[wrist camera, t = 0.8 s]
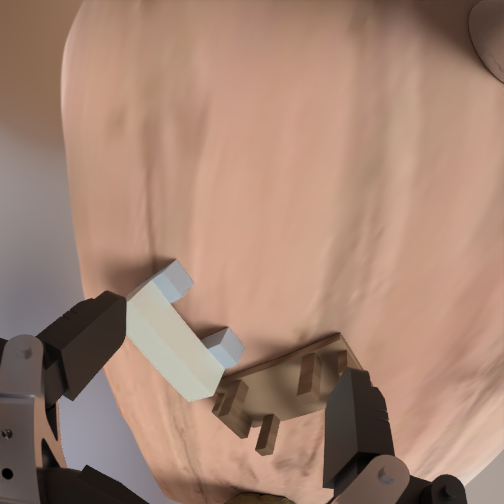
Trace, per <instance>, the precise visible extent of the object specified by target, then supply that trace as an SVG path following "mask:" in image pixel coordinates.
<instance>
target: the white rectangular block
mask: <svg viewBox="0 0 504 504" xmlns="http://www.w3.org/2000/svg"><path fill="white" fill-rule="evenodd" d="M126 301H127V313H126V335H127V336H128V337H129V338H130V339H131V341H132V342H133V343H134V344H135V345H136V347H137V348H138V349H139V350H140V351H141V352H142V353H143V355H144V356H145V357H146V358H147V359H148V360H149V361H150V362H151V364H152V365H153V366H154V367H155V368H156V369H157V370H158V371H159V372H160V373H161V374H162V375H163V377H164V378H165V379H166V380H167V381H168V382H169V383H170V384H171V385H172V386H173V387H174V388H175V389H176V390H177V391H178V392H179V393H180V394H181V395H182V396H183V397H184V398H185V399H186V400H187V401H188V402H191V401H195V400H199V399H203V398H207V397H210V396H213V395H214V393H215V391H216V388H217V386H218V384H219V382H220V379H221V377H222V375H223V373H224V370H225V369H224V367H223V366H222V365H221V364H220V363H219V362H218V361H217V359H216V358H215V357H214V356H213V355H212V354H211V353H210V351H209V350H208V349H207V348H206V347H205V346H204V344H203V343H202V342H201V341H200V340H199V339H198V337H197V336H196V335H195V334H194V333H193V331H192V330H191V329H190V328H189V327H188V325H187V324H186V323H185V322H184V320H183V319H182V318H181V317H180V316H179V314H178V313H177V312H176V311H175V309H174V308H173V307H172V305H171V304H170V303H169V302H168V300H167V299H166V298H165V297H164V295H163V294H162V293H161V291H160V290H159V289H158V287H157V286H156V285H155V283H154V282H153V281H152V280H150V281H149V282H147V283H146V284H144V285H143V286H142V287H140V288H139V289H137V290H136V291H134V292H133V293H131V294H130V295H129V296H128V297H127V298H126Z"/></svg>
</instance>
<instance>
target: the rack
mask: <svg viewBox="0 0 504 504" xmlns="http://www.w3.org/2000/svg"><path fill="white" fill-rule="evenodd" d="M347 367H351V368H356V369H361V370H363V368H362V366H361V365H360V363H359V362H358V360H357V358H356V357H355V355H354V354H353V352H352V350H351V349H350V347H349V346H348V344H347V342H346V341H345V339H344V338H343V336H342V335H341V333H338V334H335V335H333V336H331V337H329V338H326V339H324V340H322V341H319V342H317V343H315V344H312V345H310V346H307V347H305V348H303V349H300V350H298V351H295V352H293V353H290V354H288V355H285V356H282V357H280V358H277V359H275V360H272V361H269V362H267V363H264V364H261V365H258V366H256V367H253V368H250V369H247V370H244V371H241V372H239V373H236V374H233V375H230V376H227V377H224V378H221V379H220V382H219V384H218V386H217V388H216V392H217V393H218V394H219V396H218V398H217V401H216V403H215V405H214V408H213V410H212V413H213V414H214V415H215V416H217V417H218V418H219V419H220V420H221V421H222V422H223V423H224V424H225V425H226V426H227V427H228V428H230V429H231V430H232V431H233V432H234V433H235V434H236V435H237V436H239V437H240V438H241V439H243V438H248V434H249V431H250V428H251V426H252V427H253V428H254V427H259V426H261V430H260V434H259V437H258V441H257V445H256V448H255V450H256V451H257V452H258V453H259V454H260V455H262V456H265V455H271V454H273V450H274V446H275V441H276V437H277V433H278V428H279V423H280V421H284V420H288V419H292V418H295V417H299V416H303V415H306V414H310V413H313V412H316V411H320V410H323V409H326V404H327V401H328V398H329V396H330V394H331V393H332V391H333V389H334V388H335V386H336V384H337V382H338V380H339V379H340V377H341V375H342V373H343V371H344V370H345V369H346V368H347ZM371 386H372V387H373V384H372V383H371Z"/></svg>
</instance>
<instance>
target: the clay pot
mask: <svg viewBox="0 0 504 504" xmlns="http://www.w3.org/2000/svg"><path fill="white" fill-rule="evenodd" d="M224 504H295V503H293V502H291V501H290V500H288V498H283V497H278V496H273V495H268V494H265V495H262V496H261V495H259V494H253V493H247V494H246V493H244V494H240V495H238V496H235V497H233V498H231V499H230V500H228V501H227V502H225V503H224Z"/></svg>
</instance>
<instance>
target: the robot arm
mask: <svg viewBox="0 0 504 504" xmlns="http://www.w3.org/2000/svg"><path fill="white" fill-rule="evenodd" d="M468 23H469V32H470V36H471V39H472V42H473V45H474V47H475V49H476V51H477V53H478V55H479V57H480V58H481V60H482V61H483V62H484V64H485V65H486V67H487V68H488V69H489V70H490V71H491V72H492V74H494V75H495V76H496V77H497V78H498V79H499V80H500V81H502V82H503V83H504V0H481V1H480V2H479V3H478V4H476V5H475V6H474V7H473V8H472V10H471V12H470V14H469V19H468ZM126 313H127V301H126V298H125V297H123V296H120V295H118V294H115V293H113V292H110V291H104V292H103V293H102V294H100V295H99V296H98V297H97V298H95V299H92V298H90V299H87V300H84V301H81V302H79V303H78V304H76V305H75V306H74V307H72V308H71V309H70V311H67V312H66V313H65V314H63V316H62V317H59V318H58V319H57V320H56V321H54V322H53V323H52V324H51V325H49V326H48V327H47V328H46V329H44V330H43V331H42V332H41V333H39V334H38V335H37V336H36V337H34V336H32V335H18V336H15V337H13V338H11V339H10V340H9V341H8V340H5V339H2V338H0V504H149V503H147V502H146V501H145V500H143V499H142V498H140V497H139V496H138V495H136V494H135V493H133V492H132V491H131V490H129V489H128V488H127V487H126V486H124V485H123V484H122V483H120V482H118V481H116V480H114V479H112V478H110V477H108V476H107V475H105V474H102V473H101V472H99V471H97V470H95V469H94V468H92V467H90V466H88V465H86V466H85V467H84V469H83V470H82V471H79V470H75V469H70V468H67V465H66V461H65V457H64V454H63V450H62V446H61V434H60V421H59V403H58V399H59V398H60V397H61V396H62V395H64V396H65V397H67V398H68V399H70V400H72V401H74V399H75V398H76V397H77V396H78V394H79V393H80V392H81V391H82V390H83V389H84V388H85V387H86V385H87V384H88V383H89V382H90V380H92V378H93V377H94V376H95V375H96V374H97V373H98V371H99V370H100V369H101V368H102V367H103V366H104V365H105V364H106V362H107V361H108V360H109V359H110V358H111V357H112V356H113V355H114V353H115V352H116V351H117V350H118V349H119V348H120V347H121V345H122V344H123V342H124V339H125V336H126ZM386 411H387V408H386V403H385V398H384V397H383V395H382V394H381V392H380V391H379V389H378V388H377V387H372V386H371V381H370V376H369V372H368V371H365V370H361V369H356V368H351V367H347V368H346V369H345V370H344V371H343V373H342V375H341V377H340V379H339V380H338V382H337V384H336V386H335V388H334V389H333V391H332V393H331V394H330V396H329V398H328V401H327V404H326V409H325V444H324V470H323V488H330V489H334V496H333V497H332V498H331V499H330V500H329V501H328V502H327V503H326V504H467V500H466V494H465V489H464V486H463V484H462V483H461V481H460V480H459V479H457V478H456V477H454V476H452V475H448V474H445V475H440V476H438V477H437V478H436V479H435V480H433V481H432V482H430V481H426V480H423V479H420V478H417V477H414V476H411V475H410V473H409V470H408V468H407V466H406V465H405V463H404V462H403V461H401V460H400V459H399V458H397V457H395V453H394V447H393V441H392V435H391V429H390V423H389V422H388V420H389V418H388V413H387V412H386Z"/></svg>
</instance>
